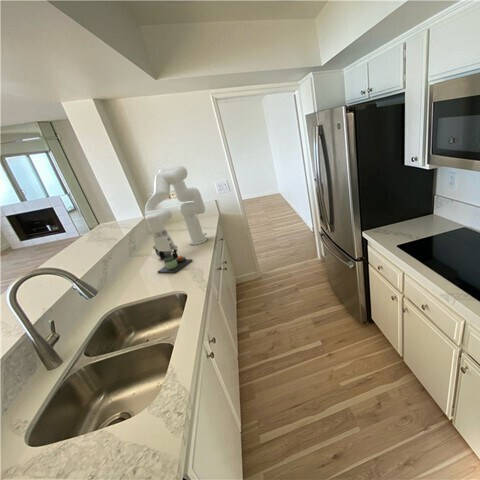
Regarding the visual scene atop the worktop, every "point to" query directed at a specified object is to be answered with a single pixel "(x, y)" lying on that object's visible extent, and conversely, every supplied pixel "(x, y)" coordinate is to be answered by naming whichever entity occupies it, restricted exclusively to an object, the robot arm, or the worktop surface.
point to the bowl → (170, 263)
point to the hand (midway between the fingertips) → (169, 258)
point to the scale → (181, 264)
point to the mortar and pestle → (166, 253)
